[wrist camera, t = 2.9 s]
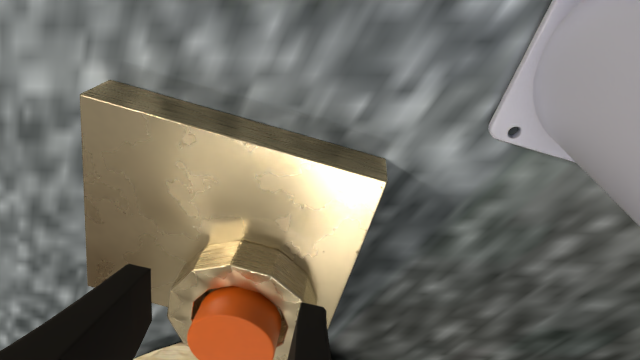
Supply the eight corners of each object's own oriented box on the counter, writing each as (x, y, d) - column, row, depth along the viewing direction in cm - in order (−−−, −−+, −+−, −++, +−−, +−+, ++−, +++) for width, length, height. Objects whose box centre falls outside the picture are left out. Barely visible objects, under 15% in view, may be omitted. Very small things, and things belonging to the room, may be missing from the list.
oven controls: (386, 158, 19) (390, 205, 15) (320, 327, 25) (312, 389, 21) (109, 79, 18) (48, 108, 15) (109, 270, 24) (66, 324, 21)
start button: (289, 299, 19) (283, 329, 17) (272, 352, 21) (265, 384, 19) (205, 276, 18) (190, 305, 17) (196, 332, 20) (182, 362, 19)
